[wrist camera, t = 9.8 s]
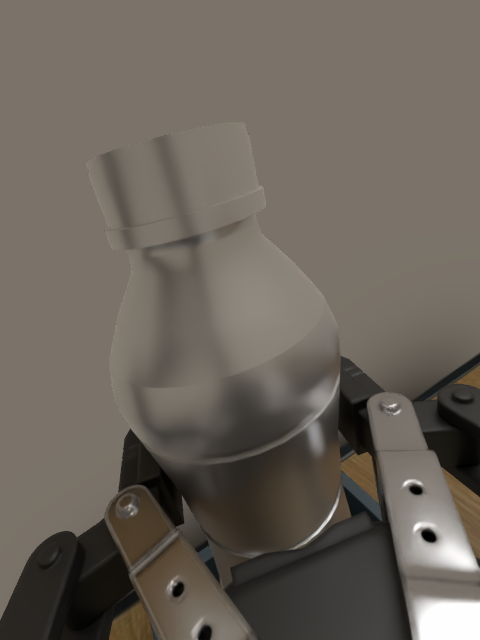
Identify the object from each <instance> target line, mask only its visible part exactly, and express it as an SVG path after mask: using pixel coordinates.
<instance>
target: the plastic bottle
mask: <svg viewBox="0 0 480 640" xmlns="http://www.w3.org/2000/svg"><path fill="white" fill-rule="evenodd" d="M86 166H87V168H88V171H89V174H88V177H89V179H90V182H91V184H92V187H93V189H94V192H95V194H96V197H97V200H98V202H99V205H100V207H101V210H102V212H103V215H104V218H105V220H106V223H107V226H108V228H106V229H105V233H106V236H107V239H108V241H109V244H110V246H111V249H113V250H127V252H128V255H129V260H130V265H131V270H132V272H131V276H130V279H129V282H128V285H127V288H126V292H125V295H124V298H123V301H122V304H121V307H120V311H119V314H118V317H117V322H116V328H115V333H114V338H113V343H112V348H111V353H110V359H109V366H110V374H111V382H112V390H113V395H114V399H115V403H116V406H117V408H118V409H119V411H120V412H121V414H122V415H123V417H124V418H125V420H126V421H127V423H128V425H129V426H130V428H131V430H132V431H133V432H134V433H135V434H136V436H137V437H138V438H139V440H140V441H141V442H142V443H143V445H144V446H145V447H146V449H147V450H148V451H149V452H150V454H151V455H152V456H153V458H154V459H155V460H156V461H157V463H158V464H159V465H160V467H161V468H162V469H163V470H164V472H165V473H166V474H167V476H168V477H169V478H170V479H171V481H172V482H173V483H174V485H175V486H176V487H177V488H178V490H179V491H180V492H181V494H182V496H183V497H184V499H185V501H186V503H187V505H188V506H189V508H190V510H191V512H192V513H193V515H194V517H195V519H196V520H197V521H198V523H199V524H200V526H201V528H202V531H203V532H204V534H205V536H206V538H207V539H208V542H209V545H210V548H211V551H212V554H213V557H214V560H215V563H216V566H217V570H218V573H219V577H220V585H221V587H222V588H223V589H224V588H225V587H226V586H227V585H228V584H229V583H231V582H232V581H233V580H232V575H231V570H230V567H233V566H235V565H237V564H240V563H242V562H245V561H247V560H249V559H252V558H254V557H257V556H259V555H261V554H264V553H270V552H278V551H286V550H294V549H301V548H304V547H306V546H307V545H308V544H310V543H311V542H312V541H313V540H315V539H316V538H317V537H318V536H320V535H321V534H322V533H323V532H325V531H326V530H327V529H328V528H330V527H331V526H332V525H333V524H335V523H338V522H340V521H342V520H345V519H347V518H350V517H352V516H351V513H350V510H349V506H348V503H347V499H346V496H345V493H344V489H343V481H342V473H341V460H340V449H339V439H338V418H339V387H340V361H341V355H340V340H339V329H338V326H337V323H336V321H335V318H334V316H333V314H332V312H331V310H330V308H329V306H328V304H327V302H326V300H325V298H324V296H323V294H322V293H321V292H320V291H319V290H318V289H317V287H316V286H315V285H314V284H313V283H312V282H311V281H310V280H309V278H308V277H307V276H306V275H305V274H304V273H303V272H302V271H301V270H300V269H299V267H297V265H296V264H295V263H294V262H293V261H292V260H291V259H289V258H288V257H287V256H286V255H285V254H284V253H283V252H282V251H280V250H279V249H278V248H277V247H276V246H275V245H274V244H273V243H272V242H270V241H269V240H268V239H267V238H266V237H265V236H263V235H262V233H261V230H260V227H259V225H258V222H257V219H256V214H255V213H257V212H259V211H260V210H262V209H263V208H265V206H266V200H265V195H264V189H263V186H258V180H257V175H256V170H255V165H254V160H253V154H252V150H251V145H250V138H249V133H246V127H245V123H244V122H231V123H223V124H216V125H210V126H204V127H200V128H195V129H191V130H185V131H181V132H177V133H173V134H169V135H165V136H161V137H157V138H153V139H150V140H146V141H143V142H139V143H136V144H132V145H129V146H126V147H123V148H120V149H116V150H113V151H110V152H108V153H105V154H102V155H100V156H98V157H95V158H93V159H91V160H89V161H88V162H87V163H86Z"/></svg>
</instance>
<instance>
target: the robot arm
mask: <svg viewBox="0 0 480 640" xmlns="http://www.w3.org/2000/svg"><path fill="white" fill-rule="evenodd" d="M338 429H339V431H340V432H341V433H342V435H343V436H344V437H345V439H346V440H347V441H348V443H349V444H350V445H351V447H352V448H353V449H354V451H355V452H356V453H357V455H360V454H363V453H365V452H368V453H369V454H370V455H371V456H372V462H373V469H374V475H375V481H376V487H377V493H378V499H379V505H380V511H381V518H382V521H376V522H373V521H372V520H371V518H370V517H369V515H368V514H367V512H366V511H364V512H362V513H359V514H357V515H354V516H352V517H350V518H347V519H345V520H342V521H340V522H338V523H335V524H333V525H332V526H331V527H330V528H328V529H327V530H326V531H325V532H323V533H322V534H321V535H320V536H318V537H317V538H316V539H315V540H313V541H312V542H311V543H310V544H308V545H307V546H306V547H304V548H301V549H294V550H286V551H278V552H270V553H264V554H261V555H259V556H257V557H254V558H252V559H249V560H247V561H245V562H242V563H240V564H237V565H235V566H233V567H230V570H231V575H232V580H233V581H232V582H231V583H229V584H228V585H227V586H226V587H225V588H224V589H223V588H222V587H221V585H220V584H219V582H218V581H217V580H216V578H215V577H214V576H213V574H212V573H211V571H210V570H209V569H208V567H207V566H206V564H205V563H204V562H203V560H202V559H201V558H200V556H199V555H198V553H197V552H196V551H195V549H194V548H193V547H192V545H191V544H190V543H189V541H188V540H187V538H186V537H185V536H184V534H183V533H182V532H181V530H180V529H176V526H179V525H181V524H184V516H183V505H182V494H181V492H180V491H179V490H178V488H177V487H176V486H175V485H174V483H173V482H172V481H171V479H170V478H169V477H168V476H167V474H166V473H165V472H164V470H163V469H162V468H161V467H160V465H159V464H158V463H157V461H156V460H155V459H154V458H153V456H152V455H151V454H150V452H149V451H148V450H147V449H146V447H145V446H144V445H143V443H142V442H141V441H140V440H139V438H138V437H137V436H136V434H135V433H134V432H133V431H132V430H131V428H130V430H129V432H128V434H127V435H126V437H125V440H124V448H123V450H124V451H123V457H122V458H123V461H122V465H121V474H120V484H119V491H118V494H117V495H116V496H115V497H114V498H113V499H112V500H111V501H110V503H109V504H108V506H107V508H106V512H105V518H103V519H102V520H101V521H100V522H99V523H98V524H96V525H95V526H93V527H92V528H90V529H89V530H87V531H86V532H84V533H83V534H81V535H80V536H79V537H76V536H75V534H74V533H72V532H69V531H63V532H59V533H56V534H54V535H52V536H51V537H49V538H48V539H46V540H45V541H44V542H42V543H41V544H40V545H39V546H38V547H37V548H36V549H35V551H34V552H33V553H32V554H31V556H30V557H29V559H28V561H27V563H26V565H25V567H24V569H23V572H22V574H21V576H20V578H19V580H18V583H17V585H16V587H15V589H14V591H13V594H12V596H11V598H10V600H9V603H8V605H7V607H6V609H5V611H4V614H3V616H2V618H1V620H0V640H109V635H110V630H111V625H112V620H113V615H114V611H115V606H116V603H117V602H118V601H119V600H120V599H122V598H123V597H124V596H125V595H127V594H128V593H129V592H130V591H132V590H133V589H135V591H136V593H137V595H138V597H139V599H140V601H141V603H142V605H143V607H144V610H145V612H146V614H147V616H148V618H149V620H150V622H151V624H152V626H153V629H154V631H155V633H156V635H157V637H158V639H159V640H480V559H478V558H476V557H475V556H474V553H473V550H472V548H471V545H470V542H469V540H468V537H467V535H466V532H465V529H464V527H463V524H462V521H461V519H460V516H459V513H458V511H457V508H456V505H455V503H454V500H453V497H452V495H451V492H450V489H449V487H448V484H447V482H446V479H445V476H444V474H443V471H442V468H441V467H443V468H444V469H445V470H446V471H448V472H449V473H450V474H451V475H453V476H454V477H455V478H456V479H458V480H459V481H460V482H461V483H463V484H464V485H465V486H467V487H468V488H469V489H470V490H472V491H473V492H474V493H475V494H477V495H478V496H479V497H480V389H478V388H476V387H473V386H469V385H464V384H452V385H447V386H445V387H443V388H441V389H440V390H439V391H438V394H437V400H428V401H419V402H411V401H410V400H409V399H408V398H406V397H405V396H403V395H400V394H397V393H391V392H385V391H384V390H383V389H382V388H381V387H380V386H379V385H377V384H376V383H375V382H374V381H373V380H372V379H371V378H370V377H368V376H367V375H366V374H365V373H363V371H362V370H361V369H359V368H358V367H357V366H356V365H355V364H354V363H353V362H352V361H350V360H349V359H347V358H345V357H342V356H341V361H340V387H339V418H338Z"/></svg>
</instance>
